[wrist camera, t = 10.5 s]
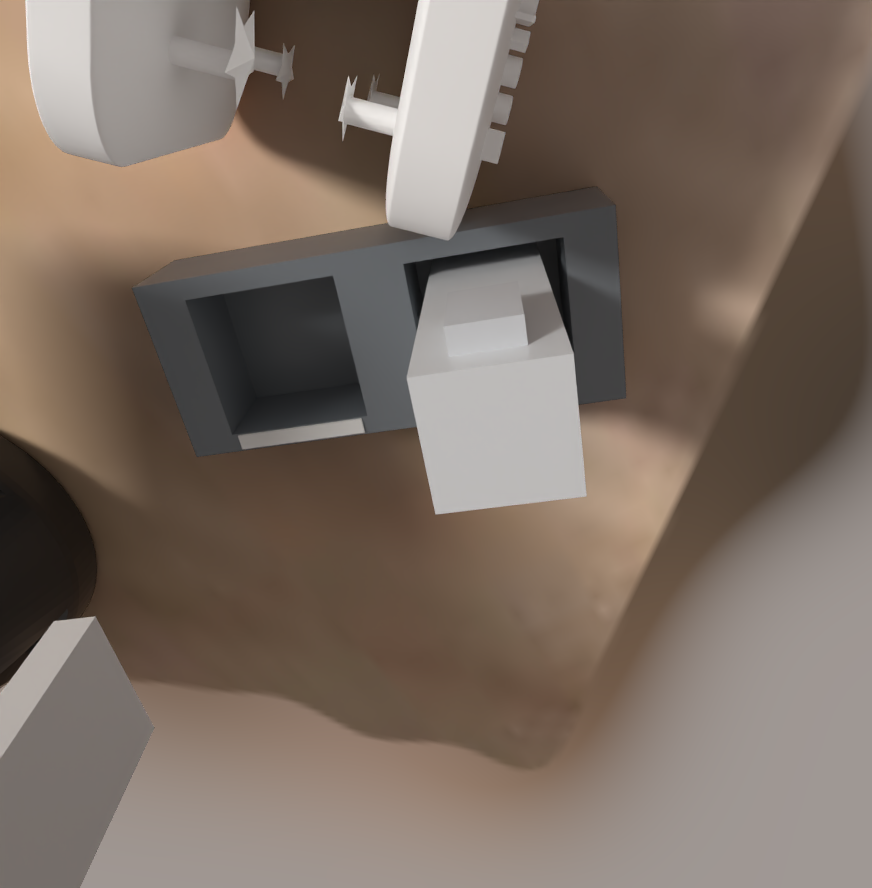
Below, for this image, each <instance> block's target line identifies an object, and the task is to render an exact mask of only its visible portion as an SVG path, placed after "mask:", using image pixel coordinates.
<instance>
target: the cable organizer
mask: <svg viewBox="0 0 872 888" xmlns="http://www.w3.org/2000/svg"><path fill="white" fill-rule="evenodd" d="M25 1H26V26H27V49H28V63H29V71H30V77H31V84H32V90H33V94H34V98H35V102H36V106H37V109H38V112H39V115H40V118H41V121H42V123H43V125H44V127H45V129H46V131H47V133H48V135H49V137H50V139H51V140H52V141H53V143H54V144H55V145H56V146H57V147H58V148H59V149H61V150H62V151H63V152H65V153H68V154H71V155H75V156H79V157H83V158H87V159H91V160H95V161H99V162H103V163H107V164H111V165H115V166H119V167H125V166H129V165H132V164H136V163H139V162H143V161H146V160H150V159H153V158H156V157H160V156H163V155H167V154H170V153H174V152H177V151H181V150H184V149H188V148H191V147H195V146H198V145H202V144H205V143H209V142H212V141H216V140H219V139H222V138H223V137H224V136H225V135H226V134H227V132H228V130H229V129H230V127H231V124H232V122H233V119H234V116H235V113H236V110H237V107H238V104H239V102H240V99H241V96H242V93H243V90H244V87H245V84H246V81H247V79H248V76H249V74H250V73H252V72H254V70H256V71H260V72H264V73H268V74H271V75H275V76H277V78H276V81H278V82H281V83H282V96H283V98H284V95H285V92H286V88H287V85H288V82H289V81H291V80H293V79H294V76H293V71H292V63H293V56H294V48H295V45H294V46H293V48H292V49H291V51H290V52H289V53H288V52H287V50H286V48H285V45H284V43H283V54H282V53H278V52H274V51H270V50H266V49H263V48H259V47H255V43H254V11H253V13H252V15H251V16H250V18H249V7H250V0H25ZM538 3H539V0H419V1H418V6H417V11H416V16H415V22H414V27H413V32H412V38H411V43H410V48H409V53H408V59H407V64H406V69H405V75H404V80H403V85H402V90H401V96H400V97H398V96H394V95H390V94H386V93H383V92H379V91H376V90H377V85H378V80H379V76H378V78H377V80H376V82H375V76H374V75H373V79H372V83H371V87H370V90H369V94H368V99H367V101H366V100H362V99H358V98H354V97H353V96H354V91H355V85H356V80H357V77H356V78H355V80H354V82H353V84H352V86H351V84H350V79H349V75H348V79H347V84H346V88H345V93H344V98H343V102H342V107H341V111H340V116H339V120H338V121H341V122H342V143H343V139H344V135H345V131H346V127H347V124H348V125H352V126H356V127H360V128H364V129H368V130H371V131H375V132H379V133H383V134H387V135H391V136H393V139H392V145H391V152H390V159H389V167H388V176H387V188H386V216H387V221H388V224H389V225H390V226H391V227H395V228H399V229H403V230H407V231H411V232H415V233H419V234H423V235H427V236H431V237H435V238H439V239H443V240H450V239H451V238H452V237H453V236H454V234H455V232H456V231H457V229H458V227H459V225H460V223H461V220H462V218H463V216H464V213H465V211H466V208H467V205H468V203H469V200H470V197H471V194H472V191H473V188H474V185H475V181H476V178H477V175H478V171H479V168H480V164H481V161H482V160H483V161H487V162H491V163H495V164H498V161H499V157H500V153H501V149H502V145H503V141H504V138H505V134H506V132H503V131H499V130H496V129H492V128H490V126H491V122H495V123H498V124H502V125H506V124H507V121H508V118H509V114H510V111H511V106H512V101H513V96H511V95H507V94H504V93H500V92H499V90H500V86H501V85H502V86H506V87H510V88H513V89H515V88H516V86H517V83H518V80H519V76H520V72H521V68H522V63H523V58H520V57H516V56H513V55H509V50H510V49H512V50H516V51H519V52H523V53H525V52H526V49H527V46H528V44H529V37H530V34H531V32H530V31H526V30H522V29H519V28H515V26H516V23H517V24H521V25H524V26H528V27H530V26H531V25H532V24H534V23H535V20H536V16H535V14H536V10H537V7H538ZM248 18H249V19H248ZM379 75H380V74H379Z"/></svg>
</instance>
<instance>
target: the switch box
mask: <svg viewBox="0 0 872 888" xmlns="http://www.w3.org/2000/svg"><path fill="white" fill-rule="evenodd" d="M531 242H536V245H537V248H538V251H539V254H540V257H541V260H542V263H543V265H544V268H545V271H546V274H547V277H548V280H549V283H550V286H551V289H552V292H553V295H554V298H555V301H556V303H557V306H558V309H559V312H560V315H561V318H562V321H563V324H564V327H565V330H566V333H567V336H568V338H569V341H570V344H571V347H572V350H573V353H574V363H575V374H576V385H577V396H578V405H580V404H587V403H595V402H602V401H609V400H617V399H624V398H626V384H625V366H624V348H623V330H622V311H621V293H620V275H619V257H618V239H617V221H616V205H615V204H614V203H613V202H612V201H611V200H610V199H609V198H608V197H607V196H606V195H605V194H604V193H603V192H602V191H601V190H600V189H599V188H598V187H591V188H585V189H580V190H574V191H568V192H562V193H557V194H551V195H545V196H540V197H534V198H528V199H522V200H517V201H511V202H505V203H500V204H494V205H488V206H483V207H477V208H471V209H466V211H465V213H464V216H463V218H462V220H461V223H460V225H459V227H458V229H457V231H456V232H455V234H454V236H453V237H452V238H451V239H450V240H443V239H439V238H435V237H431V236H427V235H423V234H419V233H415V232H411V231H407V230H403V229H399V228H395V227H391V226H390V225H389V224H388V223H385V224H380V225H374V226H368V227H363V228H357V229H351V230H346V231H340V232H334V233H328V234H323V235H317V236H311V237H306V238H300V239H294V240H288V241H283V242H277V243H271V244H266V245H260V246H254V247H248V248H243V249H237V250H231V251H226V252H220V253H214V254H208V255H203V256H197V257H191V258H186V259H180V260H174V261H173V262H171V263H170V264H168V265H166V266H165V267H163V268H162V269H160V270H159V271H157V272H156V273H154V274H152V275H151V276H149V277H148V278H146V279H145V280H143V281H142V282H140V283H138V284H137V285H135V286H134V287H132V290H133V292H134V295H135V297H136V300H137V303H138V305H139V308H140V310H141V313H142V316H143V318H144V321H145V323H146V326H147V329H148V331H149V334H150V336H151V339H152V342H153V344H154V347H155V349H156V352H157V355H158V357H159V360H160V362H161V365H162V368H163V370H164V373H165V375H166V378H167V381H168V383H169V386H170V388H171V391H172V394H173V396H174V399H175V401H176V404H177V407H178V409H179V412H180V414H181V417H182V420H183V422H184V425H185V427H186V430H187V433H188V435H189V438H190V440H191V443H192V446H193V448H194V451H195V453H196V456H197V457H200V456H207V455H215V454H222V453H229V452H237V451H244V450H251V449H258V448H266V447H273V446H280V445H288V444H295V443H302V442H310V441H317V440H324V439H332V438H339V437H346V436H353V435H361V434H368V433H375V432H383V431H390V430H397V429H405V428H412V427H417V425H416V420H415V415H414V411H413V406H412V401H411V397H410V392H409V387H408V382H407V374H408V369H409V365H410V360H411V355H412V351H413V346H414V342H415V337H416V333H417V328H418V324H419V319H420V315H421V310H422V306H423V301H424V297H425V292H426V288H427V283H428V279H429V274H430V270H431V265H432V260H433V259H436V258H442V257H448V256H454V255H460V254H466V253H471V252H477V251H483V250H489V249H495V248H501V247H507V246H513V245H519V244H525V243H531Z"/></svg>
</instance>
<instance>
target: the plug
mask: <svg viewBox="0 0 872 888" xmlns="http://www.w3.org/2000/svg"><path fill="white" fill-rule="evenodd" d="M407 382H408V387H409V392H410V397H411V401H412V406H413V411H414V415H415V420H416V425H417V429H418V434H419V439H420V444H421V448H422V453H423V458H424V462H425V467H426V472H427V477H428V481H429V486H430V491H431V495H432V500H433V505H434V509H435V514H444V513H453V512H461V511H469V510H478V509H486V508H494V507H503V506H511V505H519V504H527V503H536V502H544V501H552V500H561V499H569V498H577V497H586V496H587V495H586V484H585V473H584V462H583V451H582V440H581V429H580V418H579V407H578V396H577V385H576V374H575V363H574V353H573V350H572V347H571V344H570V341H569V338H568V336H567V333H566V330H565V327H564V324H563V321H562V318H561V315H560V312H559V309H558V306H557V303H556V301H555V298H554V295H553V292H552V289H551V286H550V283H549V280H548V277H547V274H546V271H545V268H544V265H543V263H542V260H541V257H540V254H539V251H538V248H537V245H536V242H531V243H525V244H519V245H513V246H507V247H501V248H495V249H489V250H483V251H477V252H471V253H466V254H460V255H454V256H448V257H442V258H436V259H433V260H432V265H431V270H430V274H429V279H428V283H427V288H426V292H425V297H424V301H423V306H422V310H421V315H420V319H419V324H418V328H417V333H416V337H415V342H414V346H413V351H412V355H411V360H410V365H409V369H408V374H407Z"/></svg>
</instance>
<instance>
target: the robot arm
mask: <svg viewBox="0 0 872 888" xmlns="http://www.w3.org/2000/svg"><path fill="white" fill-rule="evenodd" d="M96 573H97V565H96V556H95V550H94V546H93V542H92V539H91V536H90V533H89V531H88V528H87V526H86V524H85V522H84V520H83V518H82V516H81V514H80V512H79V511H78V509H77V507H76V506H75V504H74V503H73V501H72V500H71V498H70V497H69V496H68V494H67V493H66V492H65V490H64V489H63V488H62V487H61V486H60V484H59V483H58V482H57V481H56V480H55V479H54V478H53V477H52V476H51V475H50V474H49V473H48V472H47V471H46V470H45V469H44V468H43V467H42V466H41V465H40V464H39V463H37V462H36V461H35V460H34V459H33V458H32V457H30V456H29V455H28V454H26V453H25V452H24V451H23V450H21V449H20V448H18V447H17V446H15V445H14V444H13V443H11V442H9V441H8V440H6V439H5V438H3V437H1V436H0V688H1V687H3V686H4V685H6V684H7V683H8V684H7V685H6V687H5V688H4V689H3V691H2V692H1V694H0V888H80V886H81V884H82V882H83V880H84V878H85V875H86V873H87V871H88V869H89V867H90V865H91V863H92V860H93V858H94V856H95V854H96V852H97V849H98V848H99V845H100V843H101V841H102V839H103V837H104V835H105V832H106V830H107V828H108V826H109V824H110V822H111V820H112V818H113V815H114V813H115V811H116V809H117V807H118V805H119V803H120V801H121V798H122V796H123V794H124V792H125V790H126V788H127V785H128V783H129V781H130V779H131V777H132V775H133V773H134V770H135V768H136V766H137V764H138V762H139V760H140V758H141V756H142V753H143V751H144V749H145V747H146V745H147V743H148V741H149V738H150V736H151V734H152V732H153V730H154V726H153V724H152V722H151V720H150V718H149V716H148V715H147V713H146V711H145V709H144V707H143V705H142V703H141V701H140V700H139V698H138V696H137V694H136V692H135V690H134V688H133V686H132V684H131V682H130V681H129V679H128V677H127V675H126V673H125V671H124V669H123V667H122V665H121V664H120V662H119V660H118V658H117V656H116V654H115V652H114V650H113V648H112V646H111V645H110V643H109V641H108V639H107V637H106V635H105V633H104V631H103V629H102V628H101V626H100V624H99V622H98V620H97V618H96V616H94V617H86V618H80V616H81V615H82V614H83V612H84V611H85V609H86V607H87V606H88V604H89V602H90V600H91V597H92V595H93V591H94V588H95V583H96Z"/></svg>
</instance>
